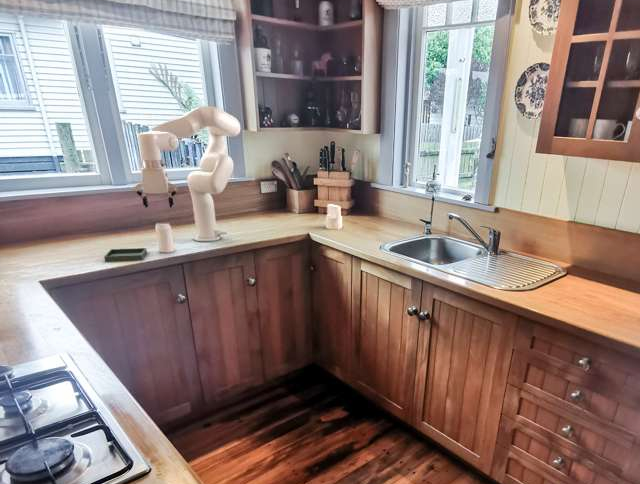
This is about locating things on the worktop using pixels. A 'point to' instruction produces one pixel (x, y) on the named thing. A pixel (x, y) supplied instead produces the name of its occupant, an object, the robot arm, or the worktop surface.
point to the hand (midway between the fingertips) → (159, 206)
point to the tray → (125, 254)
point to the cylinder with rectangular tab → (333, 217)
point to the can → (164, 237)
